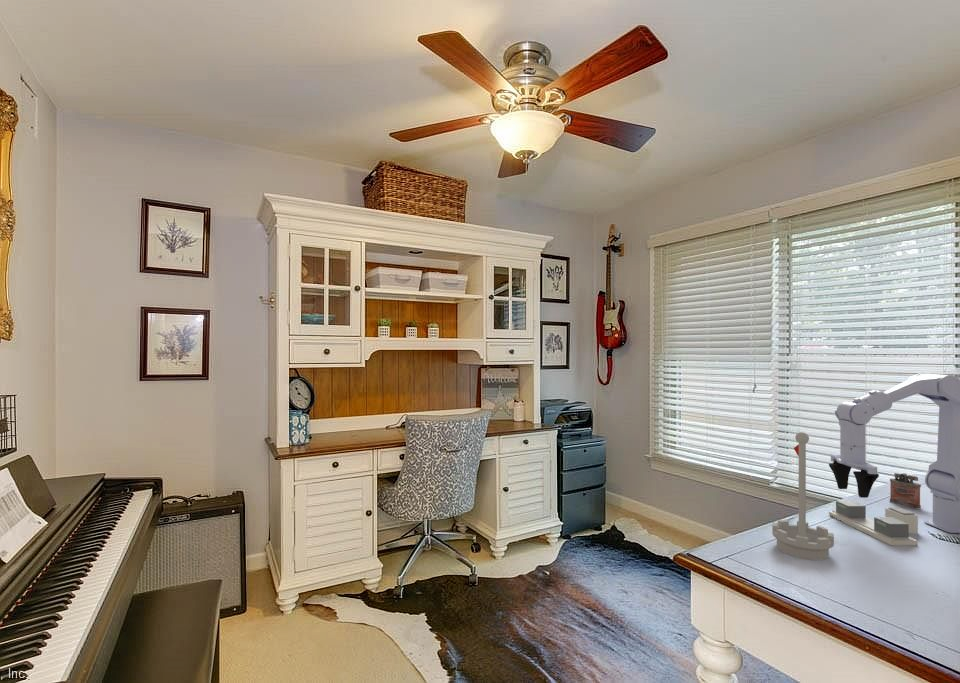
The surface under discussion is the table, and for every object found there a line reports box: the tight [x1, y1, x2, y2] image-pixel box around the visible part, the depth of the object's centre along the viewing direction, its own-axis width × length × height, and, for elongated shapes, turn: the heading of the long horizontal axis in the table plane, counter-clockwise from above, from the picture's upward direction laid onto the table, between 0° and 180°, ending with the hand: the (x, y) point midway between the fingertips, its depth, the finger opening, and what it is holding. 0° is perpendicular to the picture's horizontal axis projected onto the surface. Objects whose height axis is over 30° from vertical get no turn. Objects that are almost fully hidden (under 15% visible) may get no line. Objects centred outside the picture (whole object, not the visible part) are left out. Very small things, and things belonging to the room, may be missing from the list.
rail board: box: [828, 499, 918, 546], centre depth 138 cm, size 7×22×5 cm, turn 1°
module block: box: [884, 506, 919, 534], centre depth 138 cm, size 4×6×5 cm, turn 1°
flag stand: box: [771, 431, 835, 561], centre depth 124 cm, size 13×13×30 cm
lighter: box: [889, 472, 922, 510], centre depth 158 cm, size 8×3×10 cm, turn 25°
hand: (852, 492), depth 138 cm, fingers open, 7 cm apart
